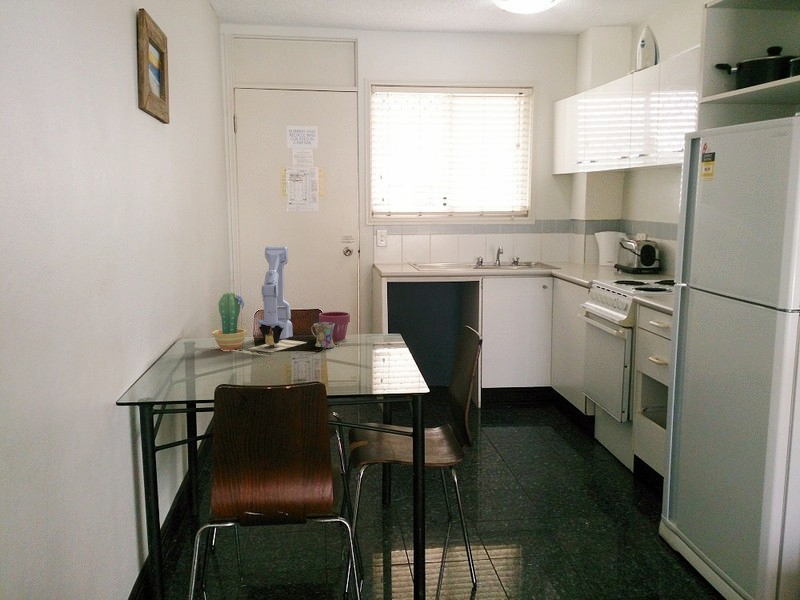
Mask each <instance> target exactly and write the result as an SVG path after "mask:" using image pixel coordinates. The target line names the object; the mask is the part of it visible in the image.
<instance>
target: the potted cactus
mask: <svg viewBox="0 0 800 600" xmlns="http://www.w3.org/2000/svg"><path fill="white" fill-rule="evenodd" d="M217 304H218V311H219V312H218V313H219V316H220V318H221V329H216V330H212V331H211V334H212V337H213V338H214V339H215V342H216V344H217V345H218V347H219V349H220V348H221V349H223V350H237V349H239V348H240V347H241V346H242V345H243V343H244V341H245V339H246V336H247V335H248V330H247V329H244V328H238V321H239V315H240V312H241V310H243V309H244V307H245V301H244V299H243V298H242V297H241V295H236V294H235V293H233V292H226V293H223V294H222V296H221V297H220V299H219V300H218V302H217ZM237 351H238V350H237Z"/></svg>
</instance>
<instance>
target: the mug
mask: <svg viewBox="0 0 800 600" xmlns="http://www.w3.org/2000/svg"><path fill="white" fill-rule="evenodd" d="M334 325H335V324H334V323H330V322H321V323H320V322H315V323H313V325H312V326H311V328H310V331H311V333H312V335H313V336H314V338H316V341H315V342H316V343H315V344H314V346H315V347H317V348H318V347H319V348H321V350H326V348H328V349H331V348H334V347H335V343H334V340H332V332H333V328H334ZM313 328H314V330H315V333H314V330H313Z"/></svg>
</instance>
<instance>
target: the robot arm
mask: <svg viewBox="0 0 800 600" xmlns="http://www.w3.org/2000/svg"><path fill="white" fill-rule="evenodd" d="M288 249H289V248H288V247H287V246H286V245H284V246H268V245H267V246H266V247H265V248H264V258H265V260H266V261H267V263H268V271H266V273H265V275H264V276H265V277H264V282H263V284H262V286H261V297H262V302H263V319H259V320H257V321H256V325H257V326H259V327H258V329H259V330H260V332H261V334H262V337H263V341H264V343H266V337H265V335H266V334H273V335H274V343H279V341H280V340H286V339H287V338H292V337H293V336H294V335H293V323H292V321H291V316H292V314H291V313H292V311H291V305H290V303H289V302H288V301H286V300H285V290H284V289H285V288H284V287H285V285H284V284H285V283H284V282H285V281H284V268H285V265H287V264H289V250H288ZM270 330H271V332H272V333H270Z"/></svg>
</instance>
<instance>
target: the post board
mask: <svg viewBox="0 0 800 600" xmlns="http://www.w3.org/2000/svg"><path fill="white" fill-rule="evenodd" d="M307 343H308V342H307V341H300V340H290V339H279V343H278V344H275V345H266V343H265V344H261V345H257V346H253V347H249V348H248V349H247V351H251V352H250V353H254V352H258V353H257V354H261V353H264V352H265V353H266V354H265V355H268V354H272V353H273V352H274V353H275V352H278V351H282V350H285V349H290V348H292V347H296V346H301V345H303V344H307ZM247 351H246V352H247Z"/></svg>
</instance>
